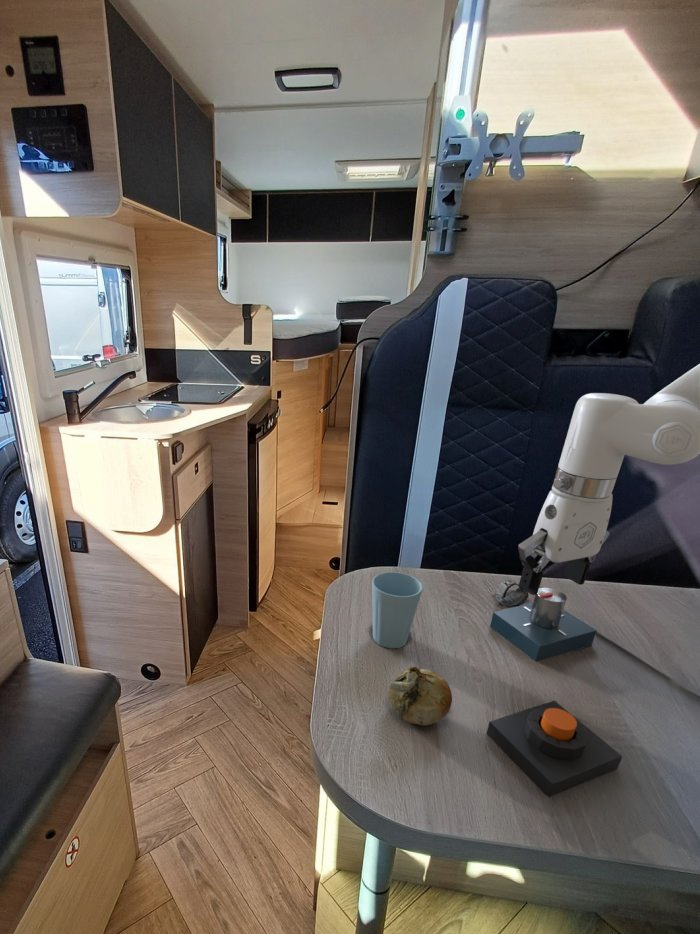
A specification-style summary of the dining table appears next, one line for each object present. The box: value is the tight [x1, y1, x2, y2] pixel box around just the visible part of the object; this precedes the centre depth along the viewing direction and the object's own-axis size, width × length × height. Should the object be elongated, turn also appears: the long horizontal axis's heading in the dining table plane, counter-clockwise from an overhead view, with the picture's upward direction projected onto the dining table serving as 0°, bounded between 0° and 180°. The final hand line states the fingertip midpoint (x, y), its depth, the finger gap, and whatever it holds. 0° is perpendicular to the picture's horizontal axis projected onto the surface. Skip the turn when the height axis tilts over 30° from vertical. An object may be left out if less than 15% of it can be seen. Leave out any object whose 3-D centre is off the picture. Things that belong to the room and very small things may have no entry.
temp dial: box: [529, 587, 568, 628], centre depth 84 cm, size 4×4×5 cm
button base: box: [486, 700, 623, 798], centre depth 63 cm, size 11×10×4 cm
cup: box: [371, 571, 424, 649], centre depth 83 cm, size 8×8×10 cm
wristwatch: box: [495, 578, 530, 607], centre depth 95 cm, size 3×5×5 cm
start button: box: [541, 708, 577, 741], centre depth 62 cm, size 4×4×2 cm
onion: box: [388, 665, 453, 726], centre depth 68 cm, size 8×8×8 cm
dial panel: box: [489, 602, 598, 662], centre depth 85 cm, size 12×10×3 cm
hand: (551, 585), depth 82 cm, fingers open, 9 cm apart
